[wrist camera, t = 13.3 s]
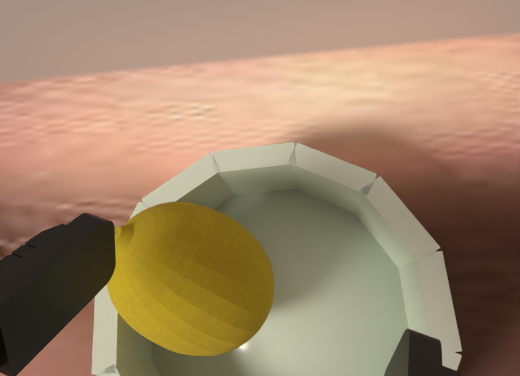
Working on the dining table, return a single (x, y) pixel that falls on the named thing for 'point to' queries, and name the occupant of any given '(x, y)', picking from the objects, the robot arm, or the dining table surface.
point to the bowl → (304, 270)
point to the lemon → (191, 279)
